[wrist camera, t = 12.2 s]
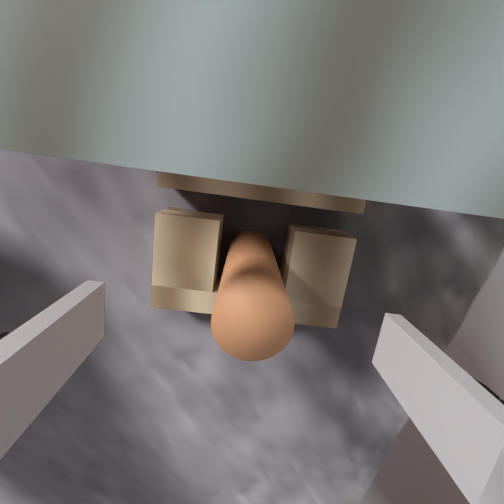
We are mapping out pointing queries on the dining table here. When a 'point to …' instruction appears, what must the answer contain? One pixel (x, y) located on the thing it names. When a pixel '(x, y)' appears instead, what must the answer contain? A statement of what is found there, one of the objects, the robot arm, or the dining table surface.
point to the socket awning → (265, 116)
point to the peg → (252, 301)
